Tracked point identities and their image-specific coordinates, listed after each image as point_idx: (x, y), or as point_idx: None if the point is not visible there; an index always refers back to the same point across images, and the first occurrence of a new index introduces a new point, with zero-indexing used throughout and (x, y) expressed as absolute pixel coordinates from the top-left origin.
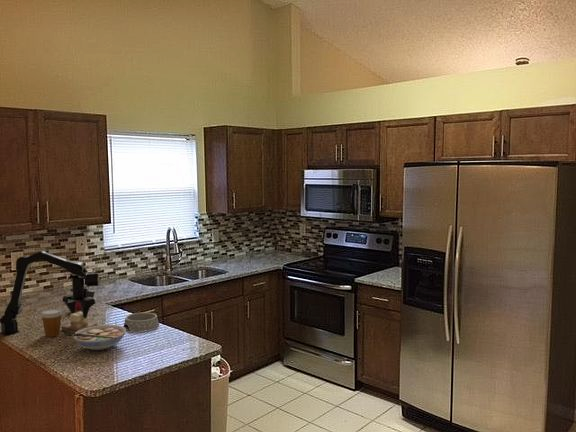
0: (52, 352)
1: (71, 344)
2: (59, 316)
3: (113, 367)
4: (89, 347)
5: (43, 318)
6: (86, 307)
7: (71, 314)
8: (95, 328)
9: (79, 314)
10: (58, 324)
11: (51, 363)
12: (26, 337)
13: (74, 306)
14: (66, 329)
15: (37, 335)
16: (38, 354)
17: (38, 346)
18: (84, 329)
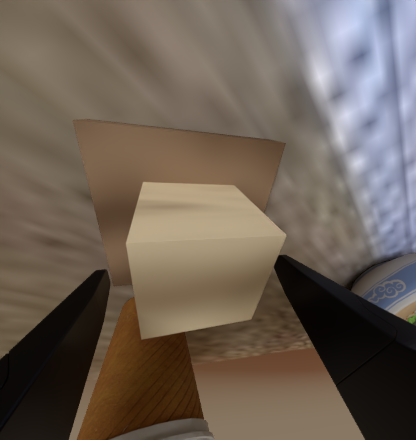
0: (273, 338)
1: (285, 304)
2: (201, 414)
3: None
4: None
5: None
6: (402, 372)
7: (159, 335)
8: (393, 299)
9: (232, 300)
10: (188, 354)
11: (304, 346)
12: (94, 357)
13: (26, 411)
14: None
15: (103, 337)
16: (253, 353)
17: (211, 348)
18: None
